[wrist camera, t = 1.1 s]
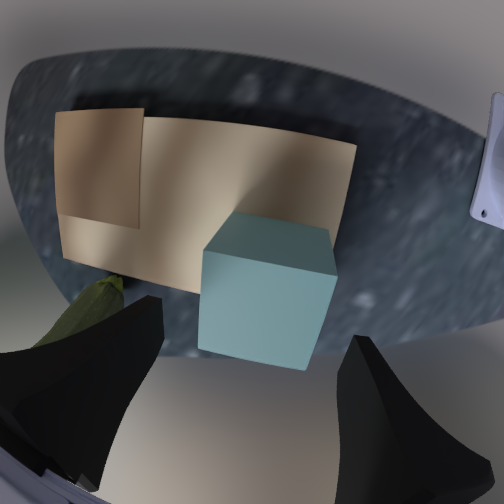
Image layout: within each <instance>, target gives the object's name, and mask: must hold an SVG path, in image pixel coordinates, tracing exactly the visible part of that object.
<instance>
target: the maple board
mask: <svg viewBox="0 0 504 504" xmlns="http://www.w3.org/2000/svg"><path fill="white" fill-rule="evenodd" d="M144 111H145V108H120V109H94V110H79V111H67V112H56V117H55V144H54V164H55V191H56V206H57V214H58V218H59V227H60V236H61V244H62V251H63V257H64V258H66V259H69V260H73V261H76V262H80V263H83V264H86V265H90V266H93V267H97V268H100V269H104V270H108V271H111V272H115V273H119V274H122V275H126V276H130V277H134V278H137V279H141V280H145V281H149V282H153V283H157V284H161V285H165V286H169V287H173V288H177V289H181V290H186V291H190V292H194V293H198V294H200V289H201V273H202V258H203V249H204V248H205V247H206V245H207V244H208V243H209V242H210V240H211V239H212V238H213V236H214V235H215V234H216V232H217V231H218V230H219V229H220V227H221V226H222V225H223V223H224V222H225V221H226V219H227V218H228V217H229V216H230V214H231V213H232V212H233V211H234V212H240V213H245V214H251V215H256V216H262V217H267V218H272V219H278V220H283V221H288V222H293V223H298V224H303V225H309V226H313V227H318V228H323V229H328V230H329V235H330V239H331V244H332V249H333V247H334V244H335V240H336V236H337V232H338V228H339V224H340V220H341V216H342V212H343V208H344V203H345V199H346V195H347V190H348V186H349V181H350V177H351V172H352V167H353V162H354V157H355V152H356V147H357V146H356V145H354V144H350V143H346V142H342V141H337V140H333V139H328V138H324V137H319V136H314V135H309V134H304V133H298V132H293V131H287V130H281V129H275V128H268V127H261V126H254V125H247V124H239V123H230V122H221V121H210V120H199V119H185V118H166V117H144Z"/></svg>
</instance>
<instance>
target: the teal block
mask: <svg viewBox="0 0 504 504" xmlns="http://www.w3.org/2000/svg"><path fill="white" fill-rule="evenodd" d="M337 278H338V274H337V269H336V264H335V259H334V254H333V249H332V244H331V239H330V235H329V230H328V229H323V228H318V227H313V226H309V225H303V224H298V223H293V222H288V221H283V220H278V219H272V218H267V217H262V216H256V215H251V214H245V213H240V212H234V211H233V212H232V213H231V214H230V216H229V217H228V218H227V219H226V221H225V222H224V223H223V225H222V226H221V227H220V229H219V230H218V231H217V232H216V234H215V235H214V236H213V238H212V239H211V240H210V242H209V243H208V244H207V245H206V247H205V248H204V249H203V258H202V273H201V289H200V309H199V332H198V348H199V349H203V350H207V351H211V352H215V353H219V354H224V355H228V356H232V357H237V358H241V359H246V360H251V361H256V362H260V363H266V364H271V365H276V366H282V367H287V368H293V369H299V370H306V368H307V365H308V363H309V360H310V357H311V355H312V352H313V349H314V347H315V344H316V341H317V338H318V336H319V333H320V330H321V327H322V324H323V321H324V318H325V315H326V312H327V309H328V306H329V303H330V300H331V297H332V294H333V291H334V288H335V284H336V281H337Z"/></svg>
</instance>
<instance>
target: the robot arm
mask: <svg viewBox="0 0 504 504" xmlns="http://www.w3.org/2000/svg"><path fill="white" fill-rule="evenodd" d="M503 102H504V95H503V94H501V93H494V94H493V95H492V100H491V110H490V118H489V125H488V132H487V137H486V143H485V148H484V154H483V159H482V163H481V168H480V172H479V177H478V181H477V185H476V189H475V192H474V196H473V200H472V203H471V207H470V214H471V216H472V217H474V218H475V219H477V220H480V221H483V222H485V223H488V224H491V225H494V226H496V227H499V228H502V229H504V104H503ZM483 210H484V214H483V215H482V216H481V212H482V211H483ZM164 339H165V338H164V325H163V309H162V299H161V298H157V297H153V296H149V295H147V296H145V297H143V298H141V299H140V300H138V301H136V302H134V303H133V304H131V305H129V306H127V307H126V308H124V309H122V310H120V311H119V312H117V313H115V314H113V315H112V316H110V317H108V318H106V319H104V320H102V321H100V322H98V323H96V324H94V325H92V326H91V327H89V328H87V329H85V330H82V331H80V332H78V333H76V334H73V335H71V336H68V337H66V338H63V339H60V340H58V341H54V342H51V343H48V344H44V345H41V346H38V347H34V348H30V349H25V350H20V351H15V352H7V353H0V504H111V503H108V502H106V501H104V500H102V499H100V498H98V497H96V496H94V495H92V494H90V493H88V492H96V491H98V490H99V486H100V482H101V478H102V474H103V471H104V467H105V464H106V461H107V457H108V455H109V452H110V449H111V446H112V443H113V441H114V438H115V435H116V433H117V430H118V428H119V425H120V423H121V421H122V418H123V416H124V413H125V411H126V409H127V407H128V405H129V404H130V402H131V400H132V398H133V397H134V395H135V393H136V392H137V390H138V388H139V387H140V385H141V383H142V381H143V380H144V378H145V377H146V375H147V373H148V372H149V370H150V368H151V367H152V365H153V363H154V362H155V360H156V358H157V355H158V353H159V351H160V349H161V346H162V344H163V341H164ZM337 408H338V421H339V435H340V464H339V476H338V484H337V492H336V498H335V504H469V503H471V502H473V501H474V500H475V499H477V498H479V497H480V496H482V495H483V494H485V493H486V492H487V491H489V490H490V489H491V488H492V486H493V485H494V483H495V479H494V475H493V471H492V467H491V464H490V461H489V460H487V459H485V458H484V457H482V456H480V455H478V454H477V453H475V452H474V451H472V450H470V449H469V448H467V447H466V446H464V445H463V444H462V443H460V442H459V441H458V440H456V439H455V438H454V437H452V436H451V435H450V434H449V433H447V432H446V431H445V430H444V429H443V428H442V427H441V426H439V425H438V424H437V423H436V422H435V421H434V420H433V419H432V418H431V417H430V416H429V415H428V414H427V413H426V412H425V411H424V410H423V409H422V408H421V406H420V405H418V403H417V402H416V401H415V400H414V399H413V397H412V396H411V395H410V394H409V392H408V391H407V390H406V389H405V387H404V386H403V385H402V383H401V382H400V381H399V380H398V378H397V377H396V375H395V374H394V372H393V371H392V370H391V369H390V367H389V365H388V364H387V362H386V361H385V360H384V358H383V357H382V355H381V353H380V352H379V350H378V349H377V348H376V346H375V345H374V343H373V342H372V340H371V339H370V338H369V337H367V336H359V335H354V336H353V338H352V340H351V343H350V345H349V348H348V350H347V352H346V355H345V357H344V359H343V362H342V364H341V366H340V368H339V370H338V374H337ZM68 481H69V482H68ZM70 482H71V483H70ZM72 483H73V484H74V485H73V484H72ZM75 485H77V486H79V487H81V488H82V489H84V490H86V491H88V492H86V491H84V490H82V489H81V488H79V487H77V486H75Z"/></svg>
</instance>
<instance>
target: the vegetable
mask: <svg viewBox="0 0 504 504" xmlns="http://www.w3.org/2000/svg"><path fill="white" fill-rule="evenodd" d="M123 308H124V296H123V280H122V278H121V277H119V278H117V275H111V276H109V277H105V278H104V279H102V280H99V281H97V282H96V283H94V284H92V285H90V286H89V287H87V288H86V289H84V290H83V291H82V292H81V294H80V295H79V296H78V297H77V299H76V300H75V301H74V302H73V303H72V304H71V305H70V306H69V307H68V309H67V310H66V311H65V312H64V313H63V314H62V315H61V317H60V318H59V319H58V320H57V322H56V323H55V324H54V326H53V327H52V329H51V330H50V331H49V332H48V333H47V334H46V335H45V336H44V337H43V338H42V339H41V340H40V341H39V342H38V343H36V344H35V345H34V346H33V347H31V348H34V347H38V346H41V345H44V344H48V343H51V342H54V341H58V340H60V339H63V338H66V337H68V336H71V335H73V334H76V333H78V332H80V331H82V330H85V329H87V328H89V327H91V326H92V325H94V324H96V323H98V322H100V321H102V320H104V319H106V318H108V317H110V316H112V315H113V314H115V313H117V312H119V311H120V310H122V309H123Z"/></svg>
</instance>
